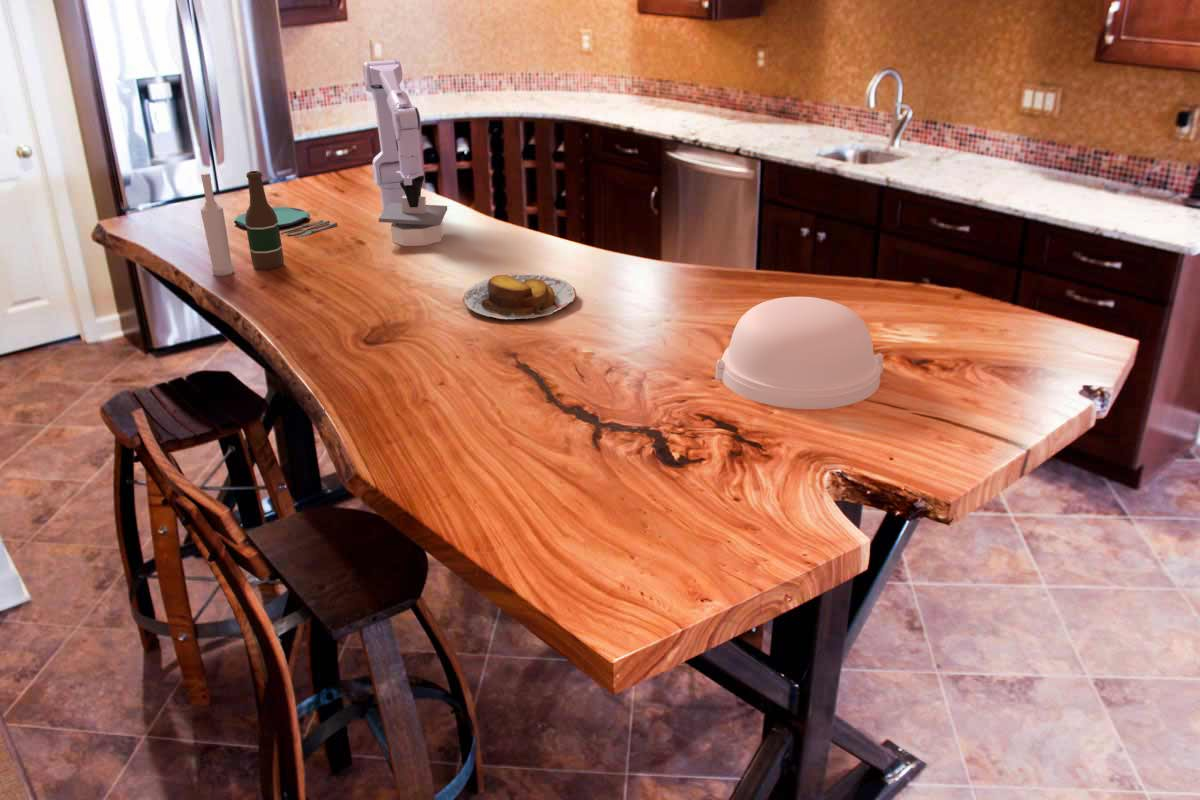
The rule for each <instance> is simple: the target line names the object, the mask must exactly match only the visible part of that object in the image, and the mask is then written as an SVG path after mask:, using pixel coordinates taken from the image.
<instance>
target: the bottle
mask: <svg viewBox="0 0 1200 800" xmlns="http://www.w3.org/2000/svg"><path fill="white" fill-rule="evenodd" d="M200 177H201V182H202V187H203V191H204V198H205V201H204V205H203V206H202V207H201V208H200V215H201V220H202V223H203V227H204V233H205V238H206V243H207V246H208V253H209V257H210V262H211V271H212V274H213V275H214V276H217V277H222V276H228V275H231V274H233V273H234V264H233V263H232V259H231V251H230V246H229V240H228V234H227V226H226V220H225V219H226V218H225V213H224V207H223V206H222V205H221V204H219V203H218V202H217V200H215V197H214V190H213V185H212V184H213V183H212V179H211V173H210V172H202V173H200Z"/></svg>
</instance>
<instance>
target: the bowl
mask: <svg viewBox="0 0 1200 800" xmlns="http://www.w3.org/2000/svg"><path fill="white" fill-rule="evenodd" d="M443 230H444V229H443V221H442V222H441V224H440V225H423V224H405V223H391V225H390V232H391V239H392V243H394V244H398V245H401V246H403V247H416V246H417V247H418V246H419V247H420V246H423V247H424V246H428V245H431V244H435V243H439V242H441V241H442V239H443V236H444V231H443Z"/></svg>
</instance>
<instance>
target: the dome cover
mask: <svg viewBox="0 0 1200 800" xmlns="http://www.w3.org/2000/svg"><path fill="white" fill-rule="evenodd" d="M883 361H884V355H883V353H881V352H878V353H875V354H874V345H873V339H872V336H871V333H870V330H869V328H868V326H867V324H866V323H865V321H864V320H863V319H862V318H861V316H860V315H858V314H857V313H856V312H855V311H854V310H853V309H850V308H849V307H847V306H845V305H844V304H840V303H838V302H836V301H833V300H830V299H824V298H820V297H814V296H813V297H812V296H786V297H785V296H784V297H779V298H773V299H770V300H766V301H763V302H760V303H758V304H756V305H755V306H753V307H751V308H750V309H748V310H747V311H746V312H745V313H744V314H743V315H742V316H741V317H740V318H739V320H738V321H737V324H736V325H735V327H734V329H733V332H732V334H731V338H730V341H729V346H728V347H727V348H726V349H725V350H724V352H723V354H722V357H721V358H719V359H717V361H716V367H715V376H714V377H715V380H719V381H722V383H723V384H724V385H725V386H726V387H727V388H728V389H729V390H731V392H734V393H735V394H736V395H738V396H741V397H743V398H745V399H747V400H750V401H753V402H756V403H760V404H763V405H767V406H771V407H777V408H783V409H785V408H786V409H791V410H792V409H793V410H794V409H795V410H823V409H824V410H825V409H832V408H833V409H835V408H840V407H845V406H849V405H850V406H851V405H852V404H856V403H859V402H861V401H864V400H866V399H867V398H869V397H871V396H872V395H873V394H875V392H877V391H878V389H879V387H880V385H881V384H880V383H881V374H883V371H884V368H883V366H884V362H883Z"/></svg>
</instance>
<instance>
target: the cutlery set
mask: <svg viewBox="0 0 1200 800" xmlns="http://www.w3.org/2000/svg"><path fill="white" fill-rule="evenodd" d="M271 207H272V209H273V210H274V212H275V214H276V216H277V220H278V225H279V228H285V227H289V226H293V225H296V224H298V223H301V222H302V221H303V220H305V219H306V218H307V219H308V220H309V219H310V216H311V215H310V213H309V212H308V211H306V210H304V209H300V208H295V207H289V206H271ZM245 217H246V213H243V214H239V215H237V217H236V218H235V219H234V221H233V223H234V224H236V225H239V226H241V227H243V228H246V221H245ZM311 225H313V226H311ZM324 225H326V226H324ZM309 226H310V227H309ZM321 226H324V227H321ZM337 226H338V222H333V223H331V222H330V220H325V221H324V219H321V220H318V221H316V222H311V223H304V224H301V226H297V227H293V228H292V227H291V228H289V229H286V230H283V231H281V232H280V235H283V234H286V235H287V236H294V238H296V239H299V238H303V237H305V236H311V235H312V234H314V233H315V232H321V231H324V230H328V229H330V228H334V227H337ZM307 227H308V228H307ZM316 227H320V228H317V229H313V228H316ZM296 232H298V233H296Z"/></svg>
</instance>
